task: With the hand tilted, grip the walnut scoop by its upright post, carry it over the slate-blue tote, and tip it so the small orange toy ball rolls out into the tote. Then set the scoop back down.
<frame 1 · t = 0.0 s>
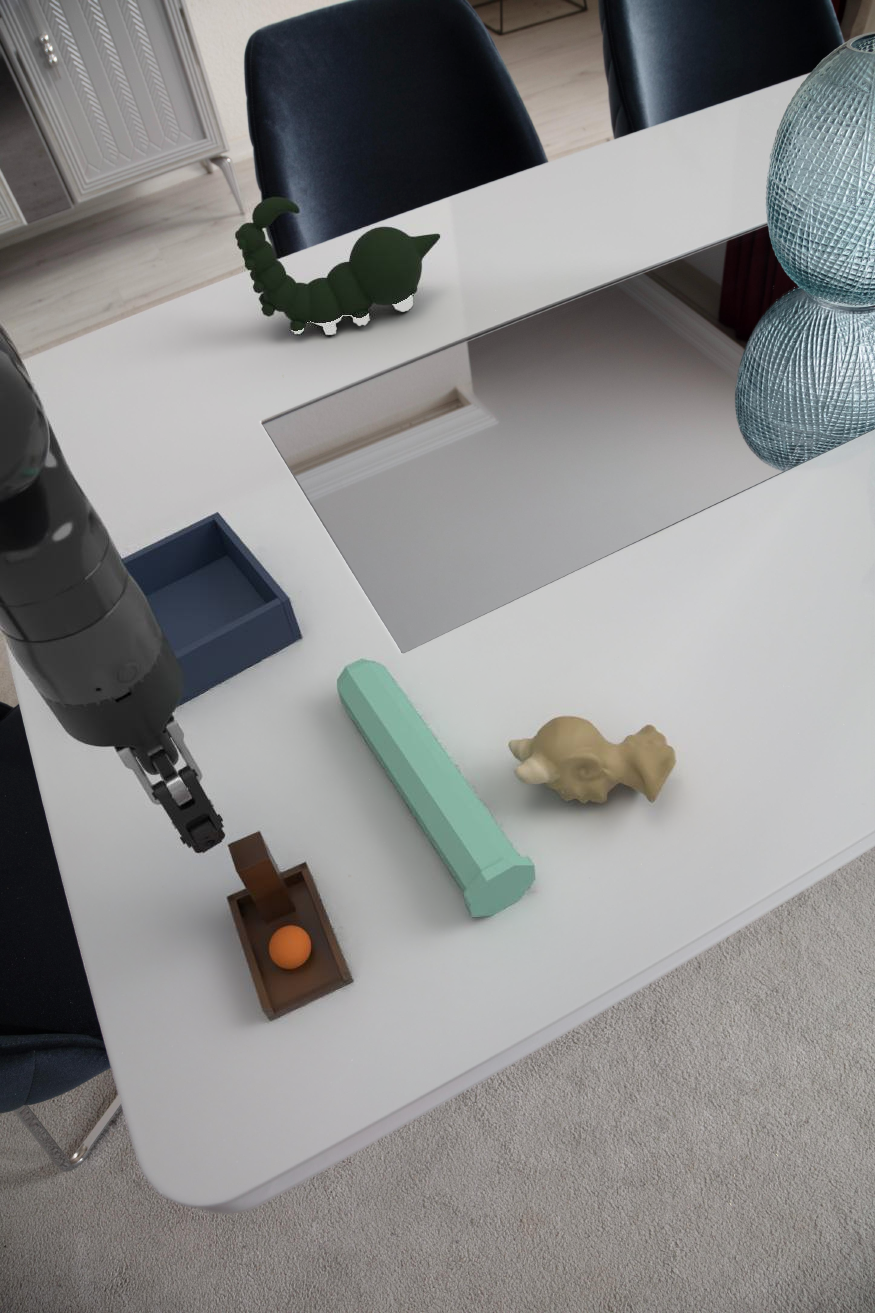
hand: (184, 799, 64), 12 cm above the table, tool pointing down, fingers open, 8 cm apart
toy figurine: (356, 321, 125), on the table
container: (426, 788, 77), on the table
toy ball: (290, 947, 67), point 2 cm above the table, touching scoop
tan toy creature: (592, 783, 75), on the table
scoop: (278, 907, 71), on the table, touching toy ball
tote: (196, 629, 91), on the table
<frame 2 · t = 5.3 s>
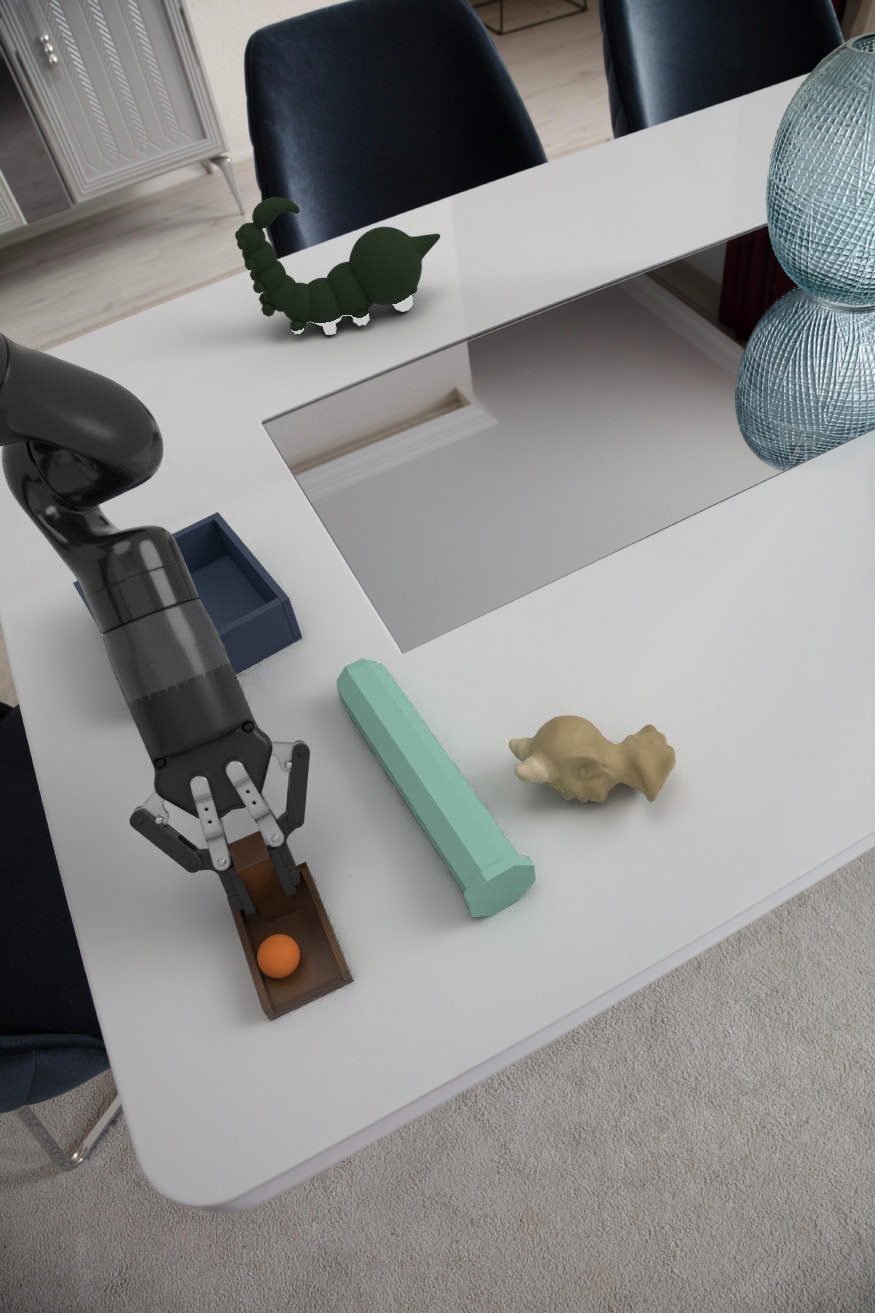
hand: (271, 901, 66), 5 cm above the table, tool tilted 45°, fingers closed on scoop, 2 cm apart
toy ball: (278, 956, 66), point 2 cm above the table, tilted 38°, touching scoop
scoop: (278, 907, 71), on the table, touching gripper, toy ball
everything else where it was.
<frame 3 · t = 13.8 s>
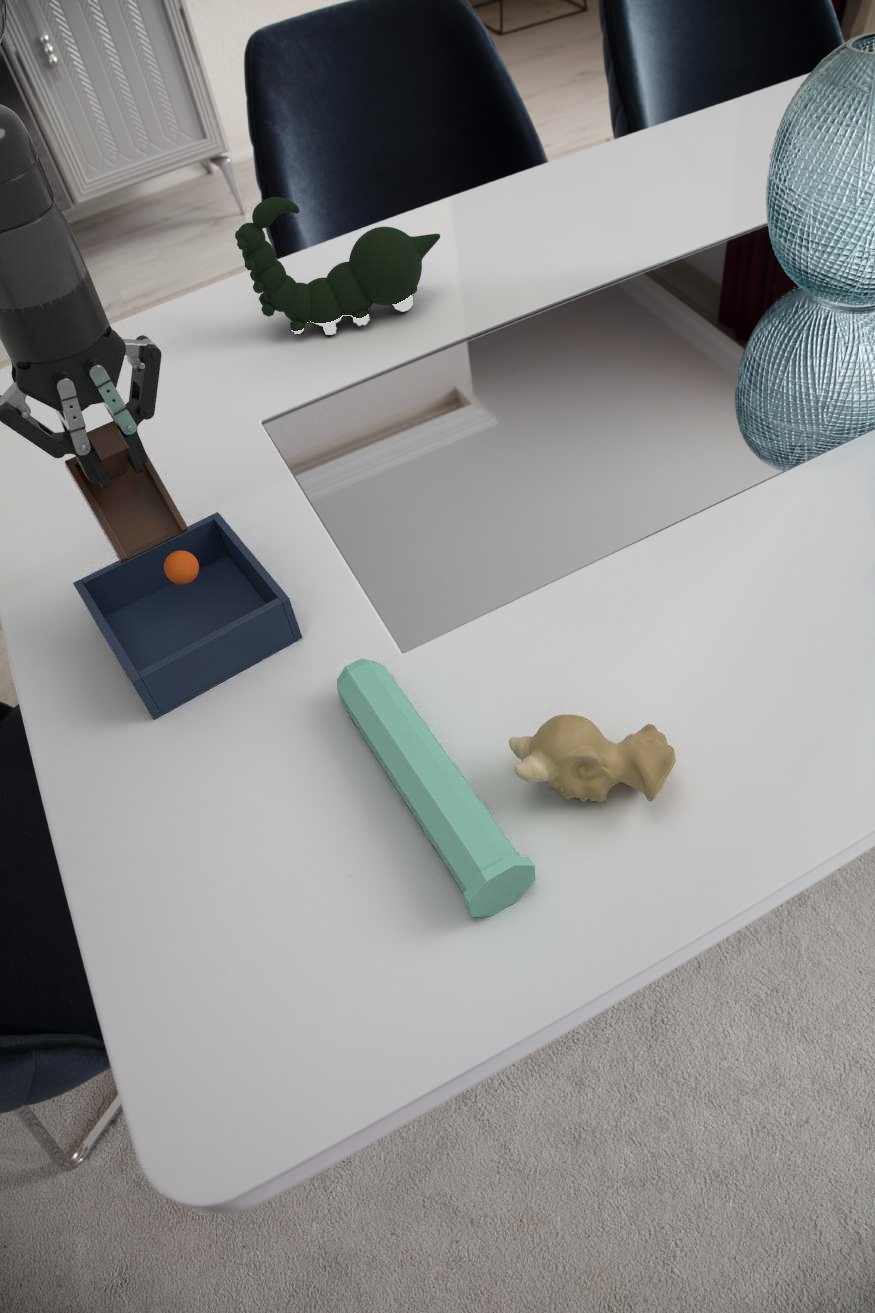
hand: (120, 474, 77), 19 cm above the table, tool pointing down, fingers closed on scoop, 2 cm apart
toy ball: (181, 567, 82), point 10 cm above the table, tilted 100°
scoop: (108, 466, 82), point 17 cm above the table, tilted 45°, touching gripper
everything else where it was.
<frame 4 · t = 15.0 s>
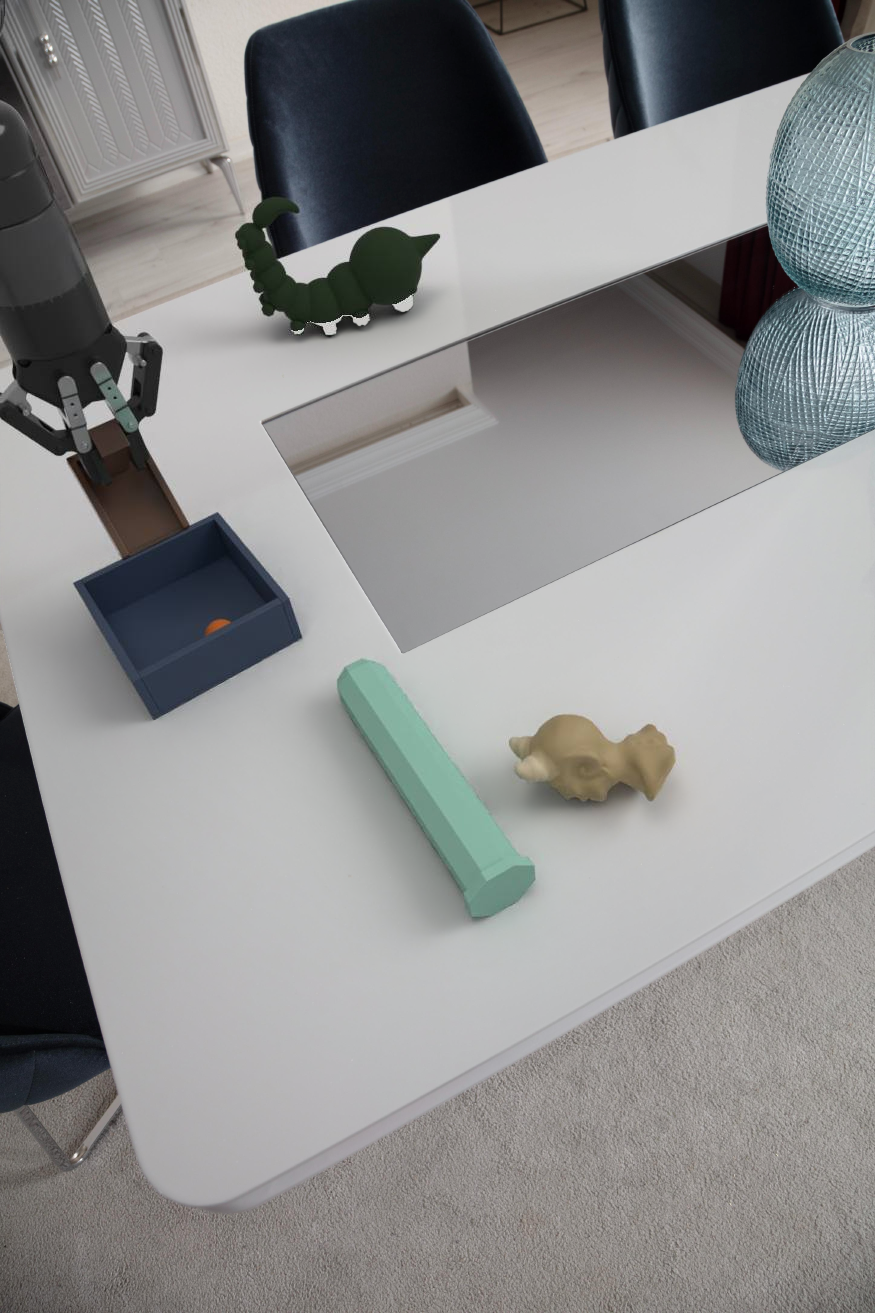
hand: (122, 471, 77), 19 cm above the table, tool pointing down, fingers closed on scoop, 2 cm apart
toy ball: (221, 635, 87), point 2 cm above the table, tilted 44°, touching tote
scoop: (110, 463, 81), point 17 cm above the table, tilted 45°, touching gripper
everything else where it was.
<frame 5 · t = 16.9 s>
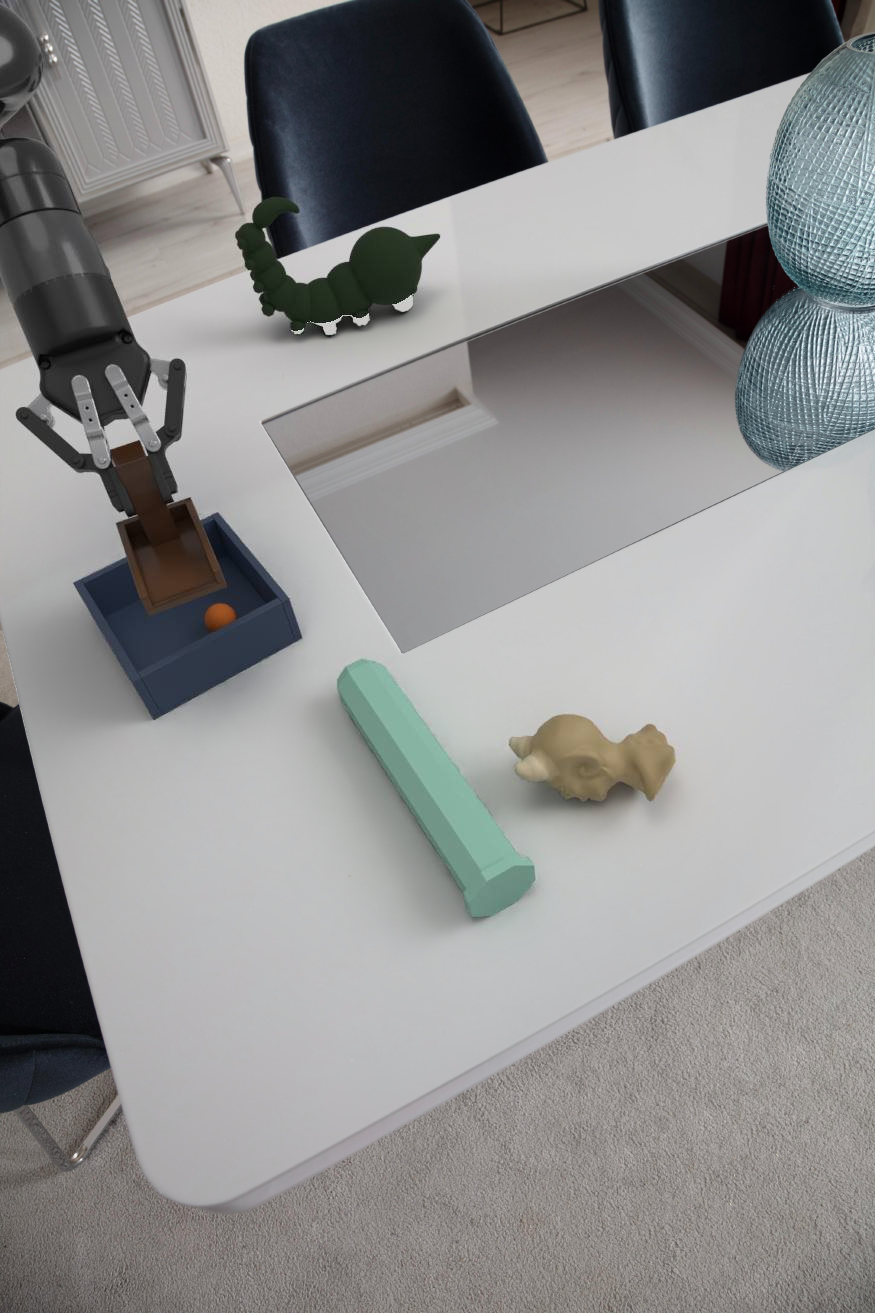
hand: (150, 507, 72), 20 cm above the table, tool tilted 45°, fingers closed on scoop, 2 cm apart
toy ball: (220, 619, 89), point 2 cm above the table, tilted 86°, touching tote
scoop: (165, 538, 77), point 15 cm above the table, touching gripper
everything else where it was.
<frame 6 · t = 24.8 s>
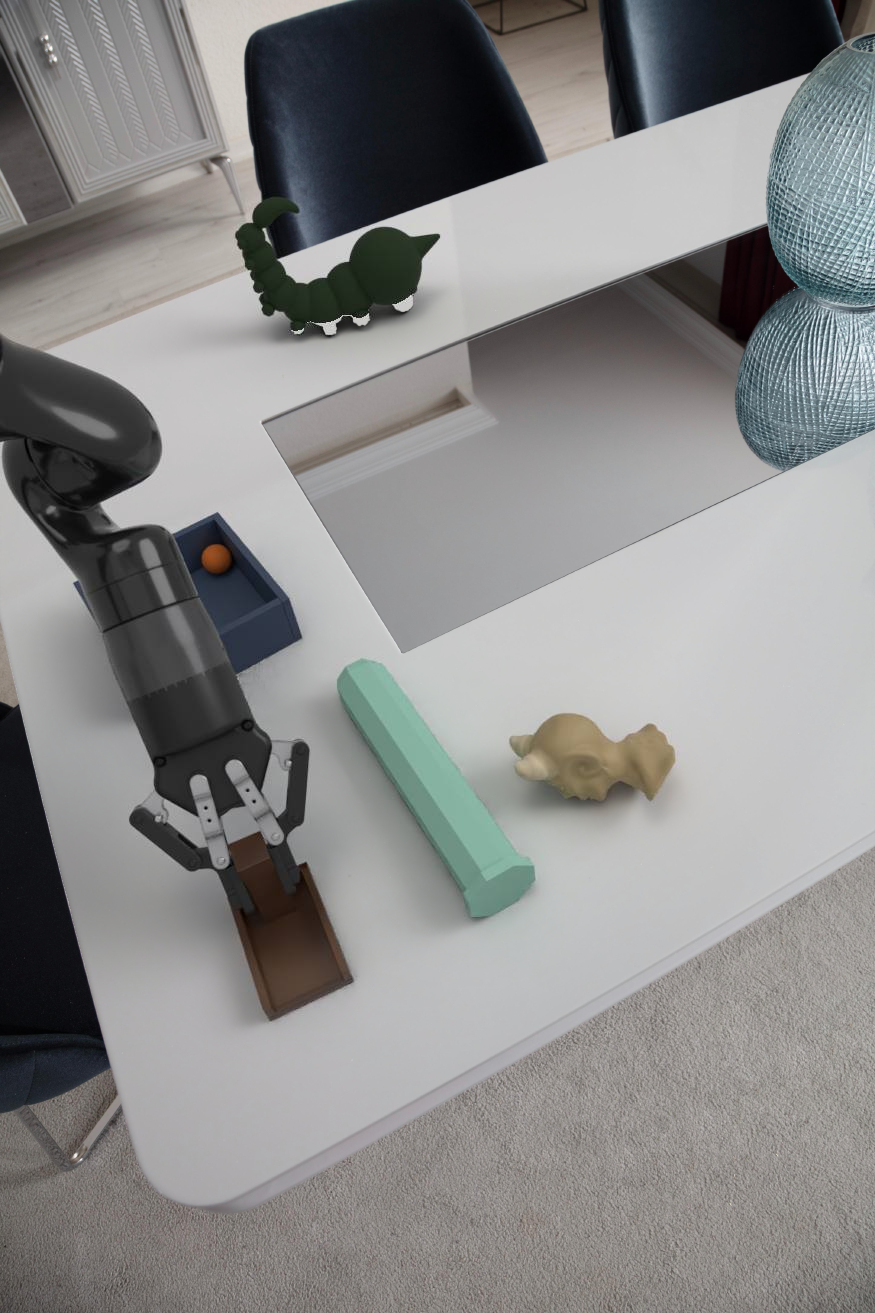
hand: (271, 899, 66), 5 cm above the table, tool tilted 45°, fingers closed on scoop, 2 cm apart
toy ball: (216, 559, 94), point 2 cm above the table, tilted 64°, touching tote
scoop: (279, 907, 71), on the table, touching gripper
everything else where it was.
when the fingers open (5 cm above the table, at t = 24.8 s): scoop stays where it is, on the table.
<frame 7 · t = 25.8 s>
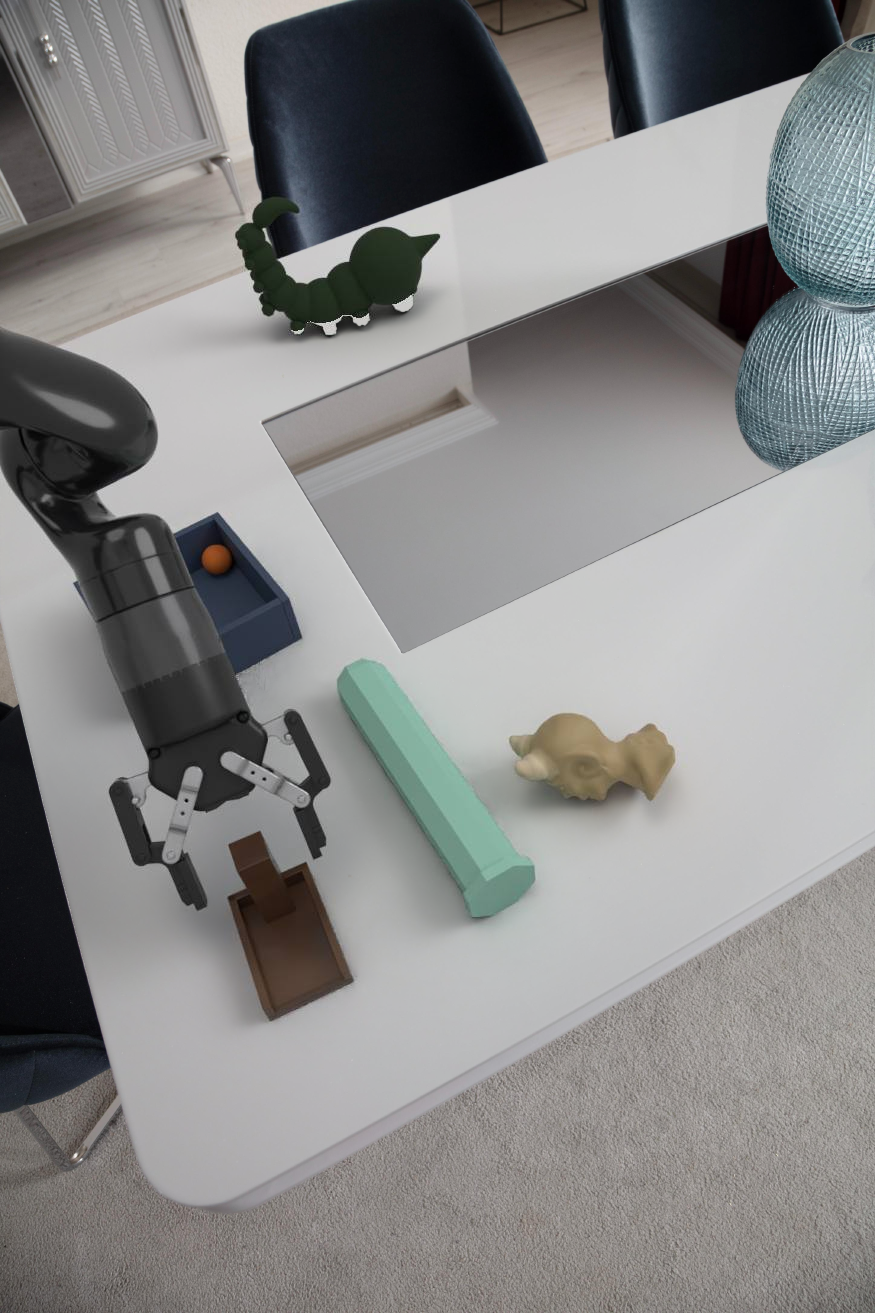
hand: (261, 880, 65), 7 cm above the table, tool tilted 45°, fingers open, 8 cm apart
scoop: (279, 907, 71), on the table
everything else where it was.
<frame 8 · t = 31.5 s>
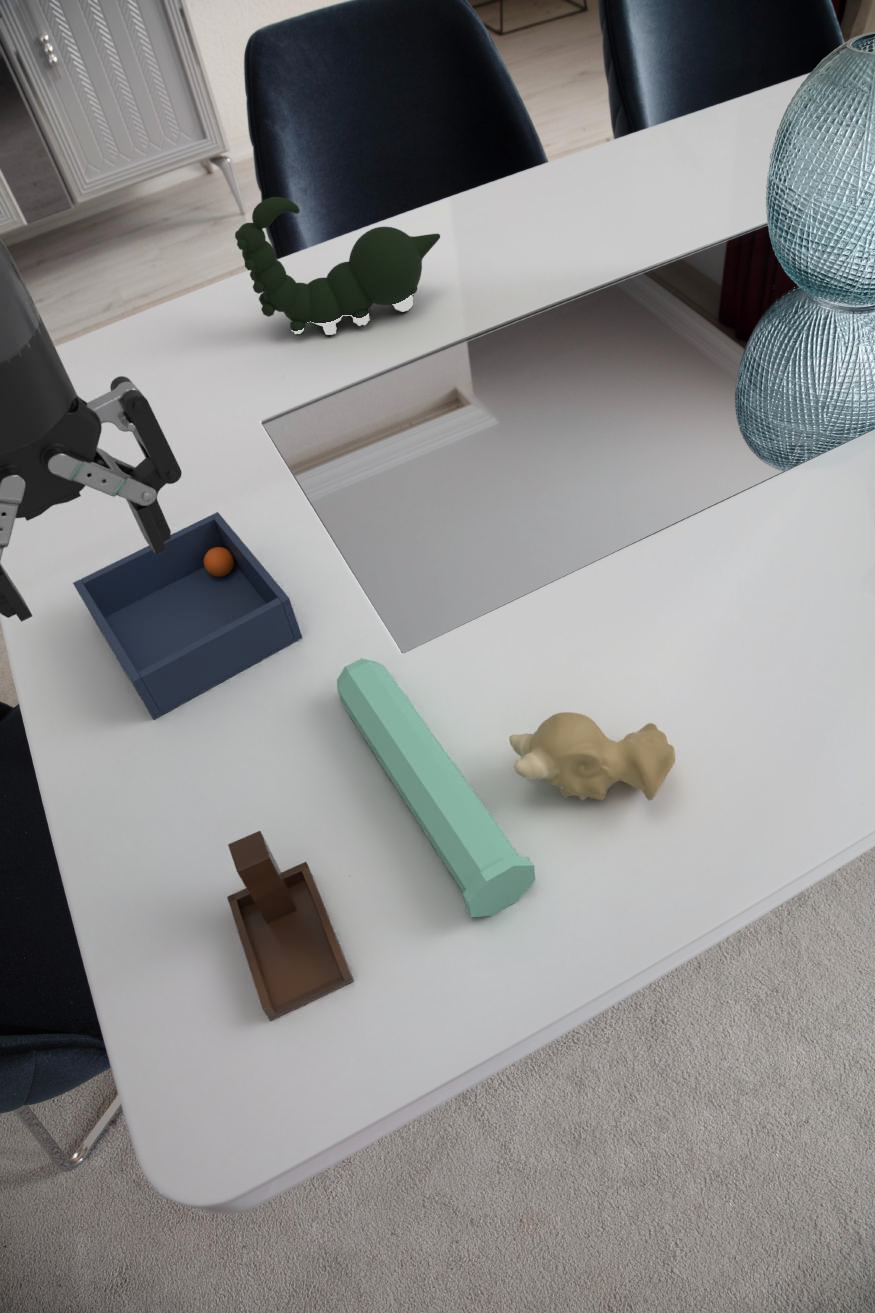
hand: (91, 577, 55), 28 cm above the table, tool pointing down, fingers open, 8 cm apart
at the end: toy ball inside the target area in the tote (7.4 cm from its centre), point 2.1 cm above the tote's base; scoop tilted 0°; the gripper is holding nothing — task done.
